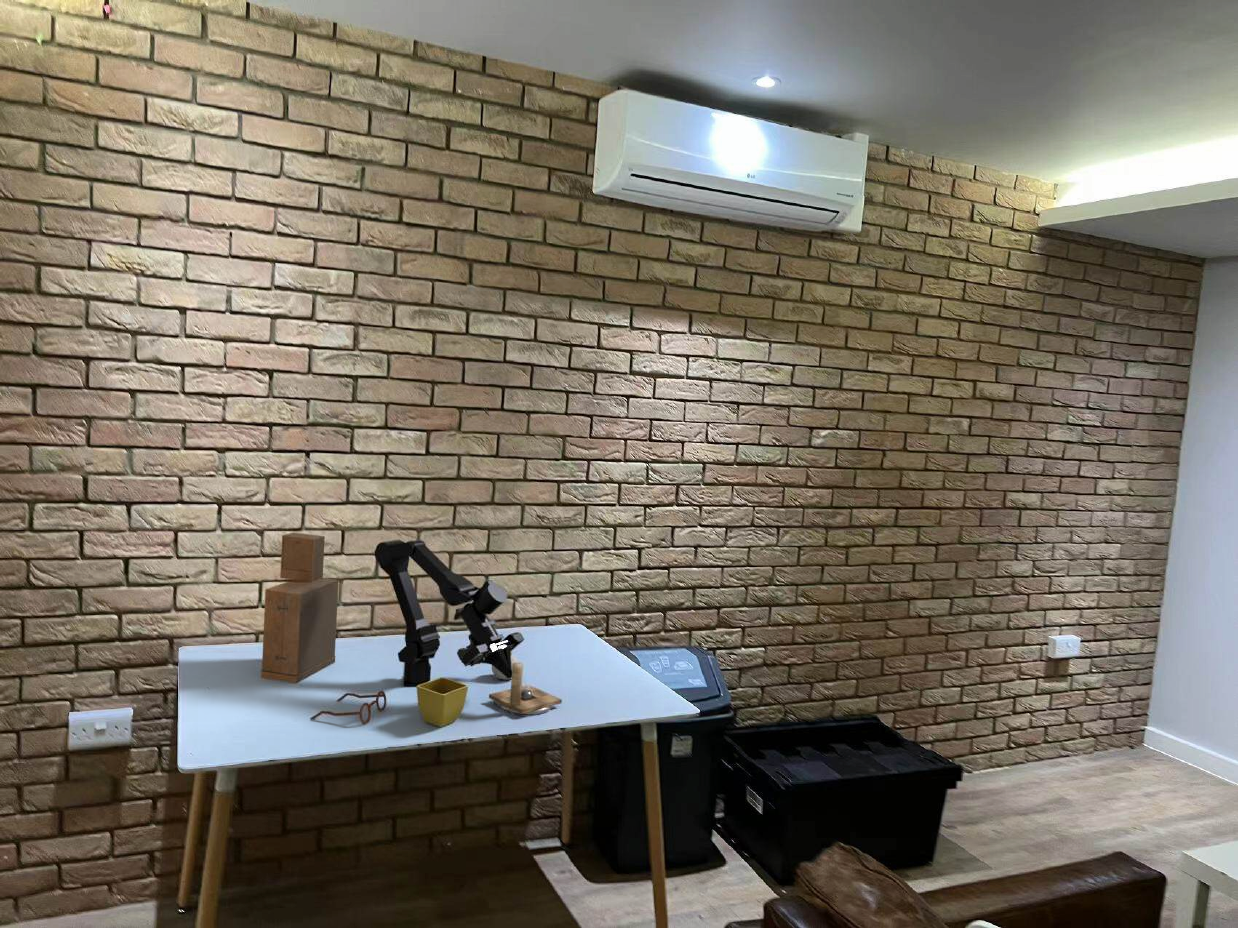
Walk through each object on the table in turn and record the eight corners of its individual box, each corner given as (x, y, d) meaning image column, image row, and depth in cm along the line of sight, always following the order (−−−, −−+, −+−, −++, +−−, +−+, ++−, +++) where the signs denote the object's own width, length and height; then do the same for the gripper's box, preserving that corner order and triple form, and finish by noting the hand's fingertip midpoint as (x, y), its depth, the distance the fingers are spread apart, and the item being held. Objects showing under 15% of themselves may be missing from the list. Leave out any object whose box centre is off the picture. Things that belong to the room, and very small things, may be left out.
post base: (501, 716, 216) (502, 700, 216) (491, 691, 233) (492, 677, 232) (557, 714, 220) (559, 698, 220) (543, 690, 237) (545, 676, 236)
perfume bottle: (521, 681, 242) (524, 638, 241) (486, 684, 238) (489, 640, 237) (513, 673, 249) (516, 631, 248) (479, 674, 245) (482, 632, 244)
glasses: (362, 728, 204) (363, 707, 203) (310, 720, 206) (311, 699, 205) (387, 708, 216) (388, 688, 216) (337, 701, 219) (338, 681, 218)
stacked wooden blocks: (288, 655, 249) (294, 532, 246) (335, 662, 246) (341, 537, 243) (247, 675, 230) (252, 542, 227) (296, 683, 228) (303, 548, 225)
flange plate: (521, 714, 216) (524, 669, 215) (488, 698, 225) (491, 655, 224) (561, 703, 225) (564, 660, 224) (528, 688, 234) (531, 647, 233)
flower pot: (440, 732, 204) (443, 694, 203) (413, 722, 208) (415, 685, 207) (466, 722, 211) (469, 685, 210) (439, 712, 216) (441, 676, 215)
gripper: (483, 635, 235) (513, 685, 230) (435, 649, 219) (466, 703, 214) (509, 611, 230) (540, 662, 226) (461, 624, 214) (494, 679, 210)
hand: (510, 677), depth 219 cm, fingers closed, pressing on flange plate
